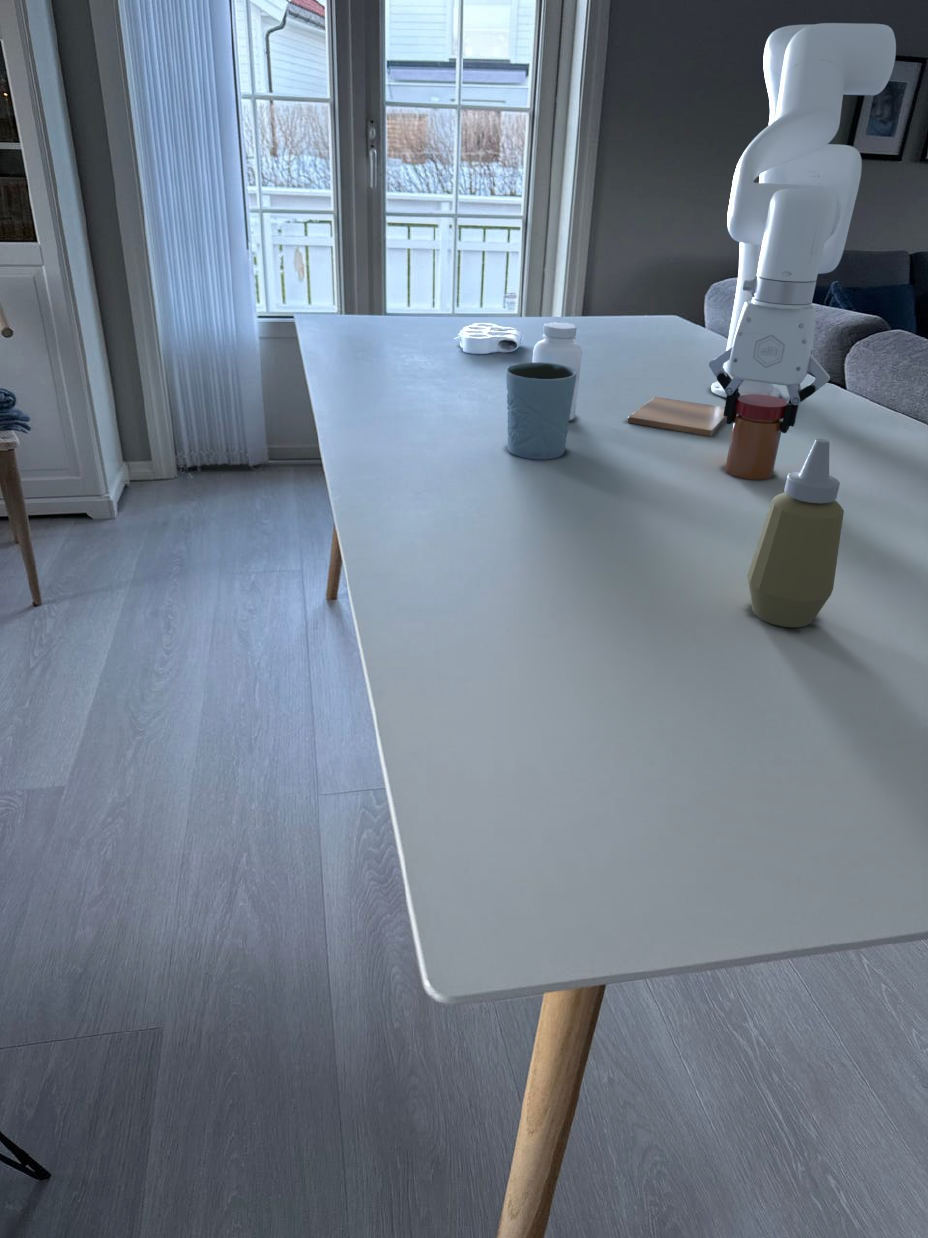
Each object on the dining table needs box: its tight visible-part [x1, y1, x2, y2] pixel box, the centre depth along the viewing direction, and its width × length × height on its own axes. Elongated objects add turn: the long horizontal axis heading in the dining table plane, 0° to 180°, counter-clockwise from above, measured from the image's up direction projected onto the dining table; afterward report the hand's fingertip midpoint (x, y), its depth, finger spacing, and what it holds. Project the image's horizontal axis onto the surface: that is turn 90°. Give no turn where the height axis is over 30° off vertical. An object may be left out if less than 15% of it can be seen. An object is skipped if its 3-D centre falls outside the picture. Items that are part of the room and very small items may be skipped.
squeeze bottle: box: [746, 438, 845, 628], centre depth 86 cm, size 8×8×18 cm
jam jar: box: [724, 413, 783, 481], centre depth 128 cm, size 7×7×10 cm
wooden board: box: [627, 396, 727, 437], centre depth 154 cm, size 16×14×1 cm
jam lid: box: [735, 394, 789, 420], centre depth 125 cm, size 7×7×2 cm
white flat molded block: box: [453, 322, 524, 355], centre depth 201 cm, size 3×18×15 cm
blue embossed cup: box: [505, 362, 577, 460], centre depth 132 cm, size 10×10×12 cm
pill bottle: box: [531, 321, 583, 422], centre depth 148 cm, size 8×8×15 cm
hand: (757, 425), depth 126 cm, fingers closed on jam lid, 6 cm apart
